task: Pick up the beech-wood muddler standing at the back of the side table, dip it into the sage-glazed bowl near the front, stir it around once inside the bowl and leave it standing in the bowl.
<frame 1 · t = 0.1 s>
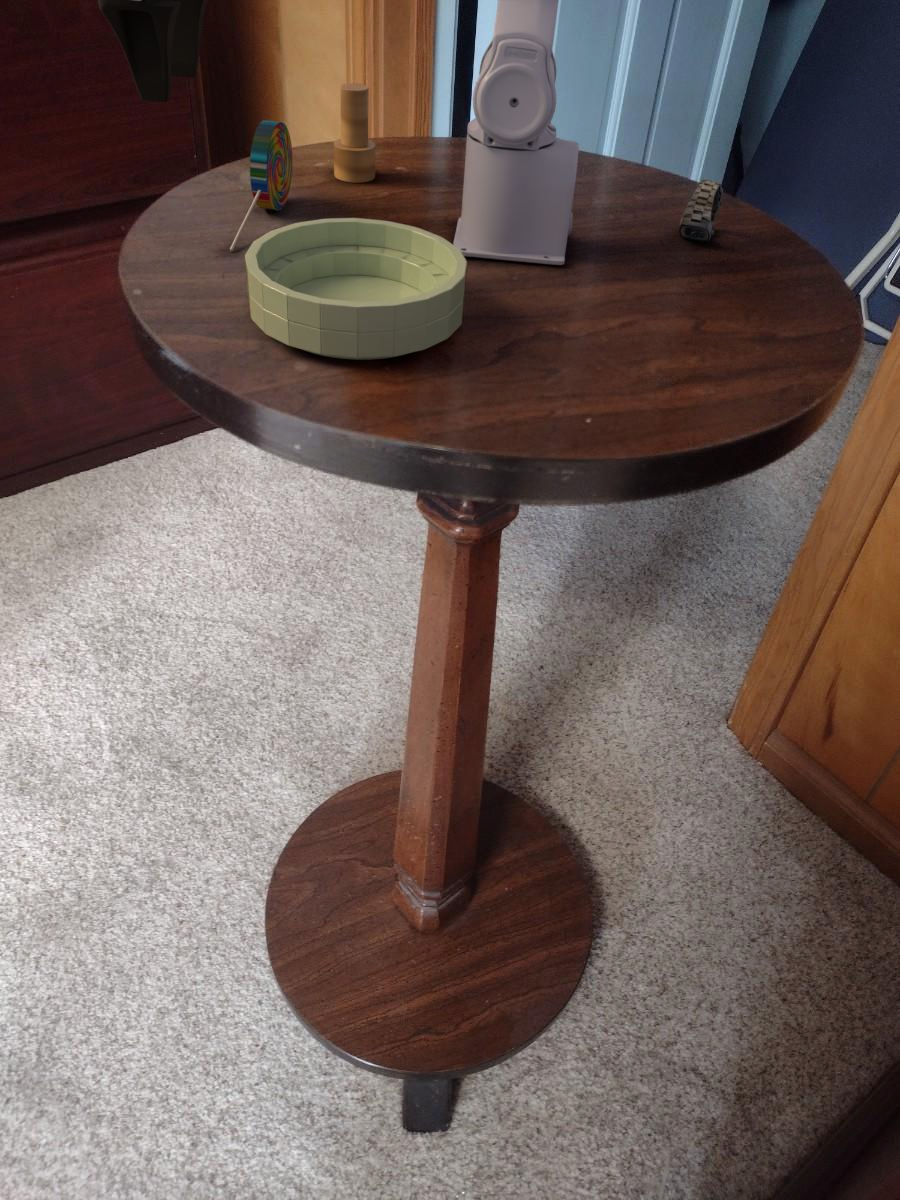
hand: (170, 87, 78), 10 cm above the table, tool pointing down, fingers open, 7 cm apart
bowl: (357, 317, 72), on the table
wristwatch: (698, 240, 89), on the table
muddler: (354, 176, 95), on the table
lollipop: (260, 223, 85), on the table
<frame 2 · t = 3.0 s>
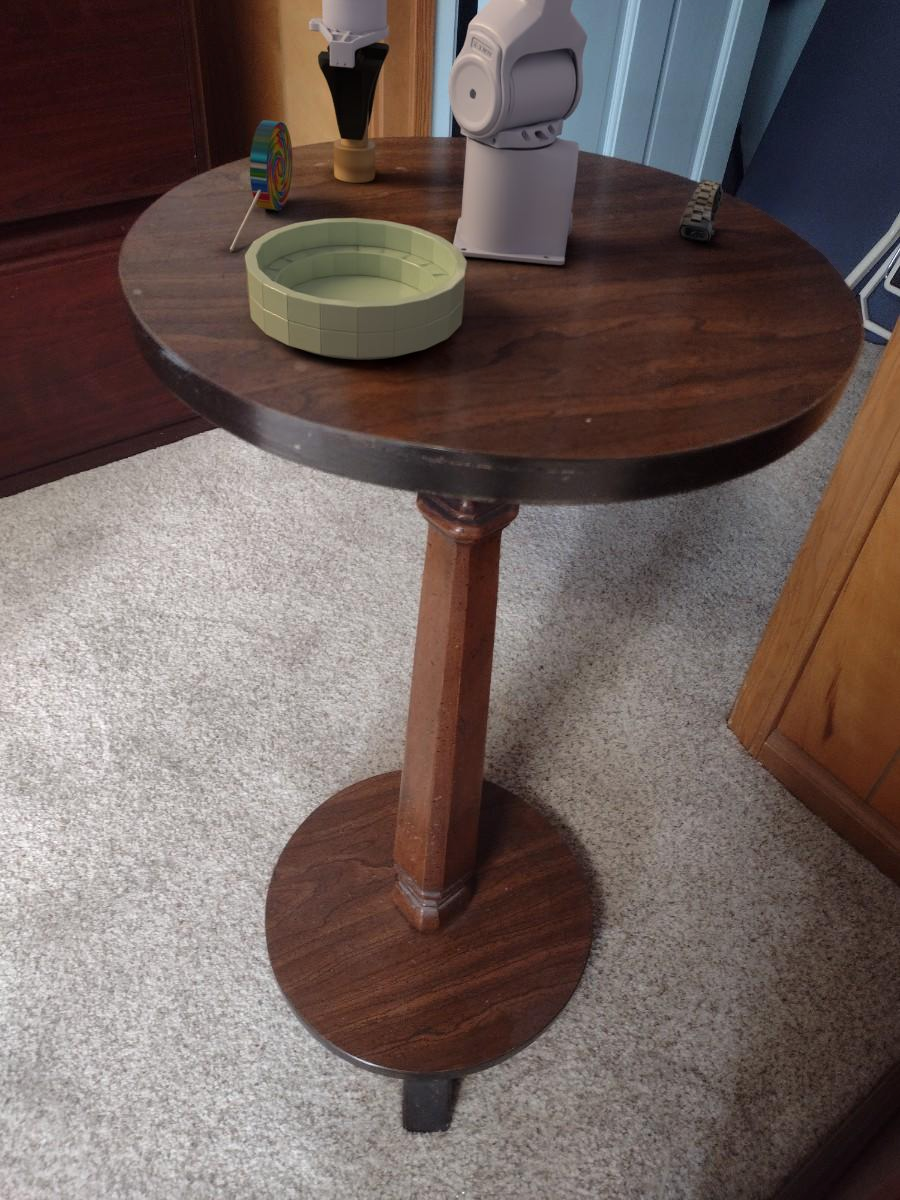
hand: (354, 133, 93), 4 cm above the table, tool pointing down, fingers closed on muddler, 2 cm apart
muddler: (354, 176, 95), on the table, touching gripper
everything else where it was.
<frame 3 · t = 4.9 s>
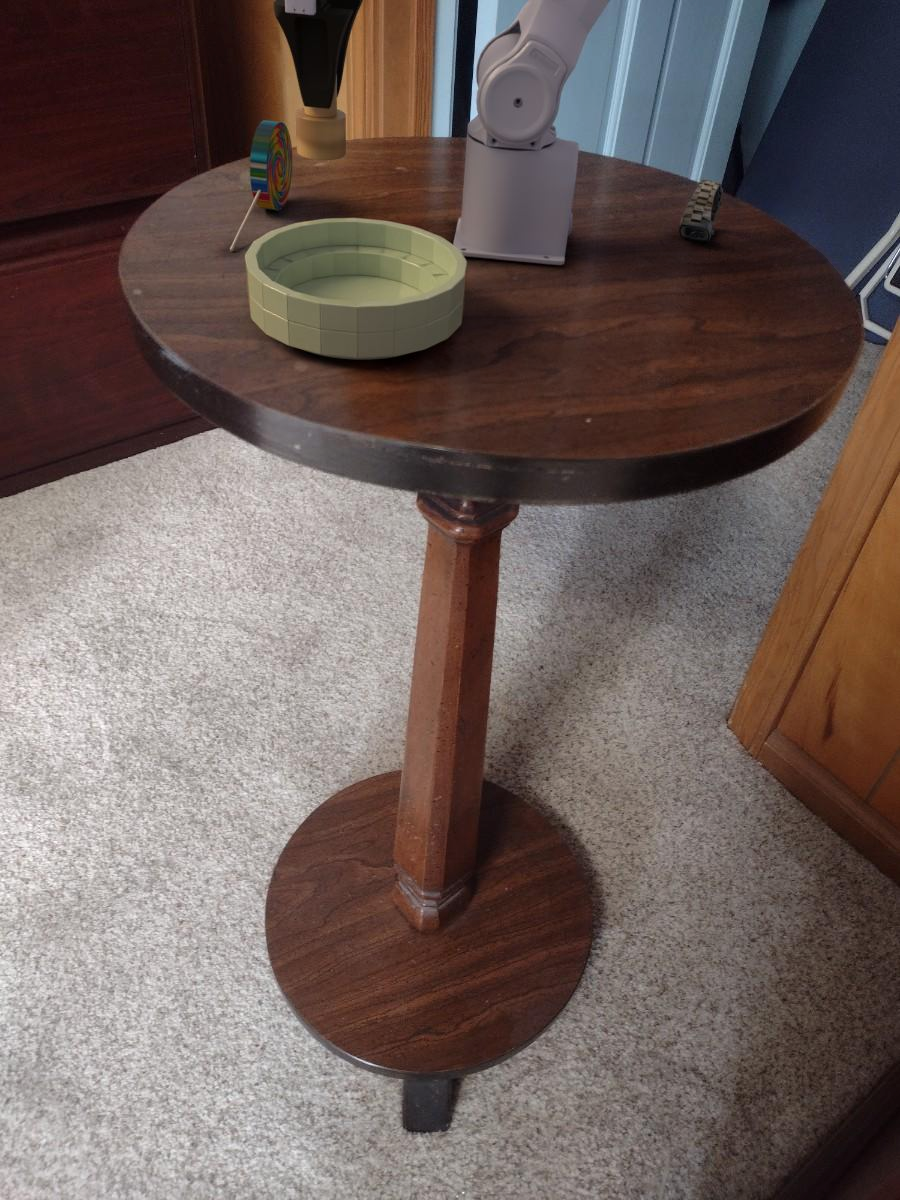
hand: (321, 101, 77), 10 cm above the table, tool pointing down, fingers closed on muddler, 2 cm apart
muddler: (321, 152, 80), point 6 cm above the table, touching gripper
everything else where it was.
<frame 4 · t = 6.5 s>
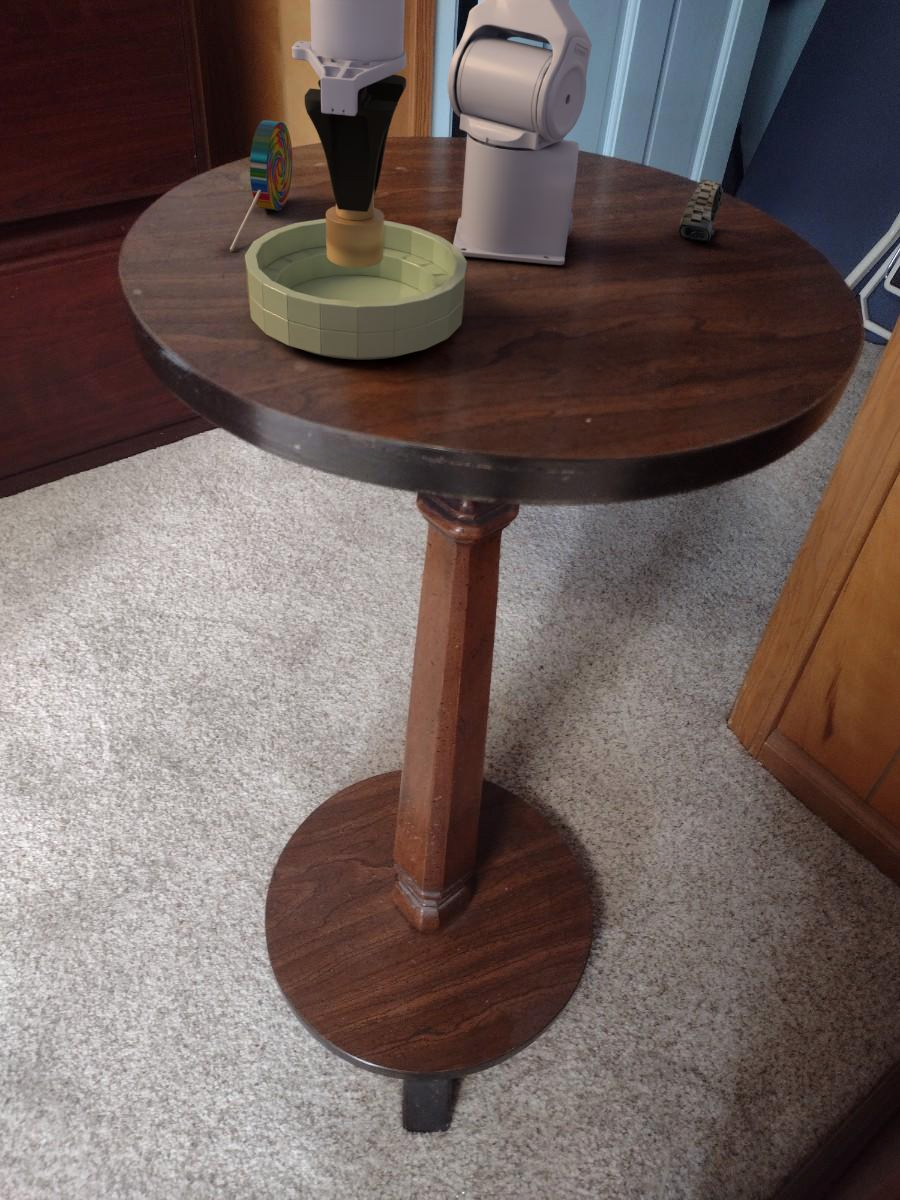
hand: (357, 200, 66), 9 cm above the table, tool pointing down, fingers closed on muddler, 2 cm apart
muddler: (354, 256, 69), point 5 cm above the table, touching gripper
everything else where it was.
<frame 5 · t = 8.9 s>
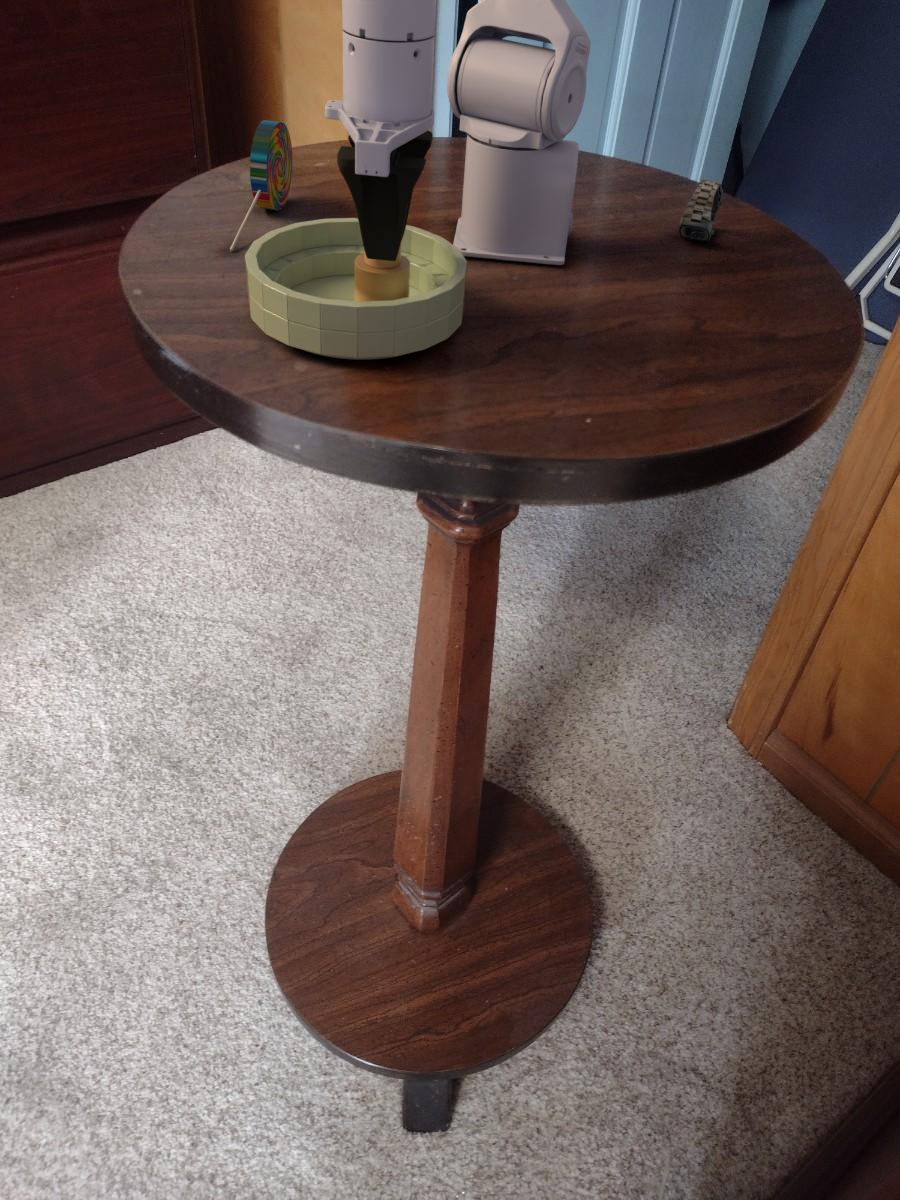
hand: (384, 249, 69), 5 cm above the table, tool pointing down, fingers closed on muddler, 2 cm apart
muddler: (381, 301, 71), point 1 cm above the table, touching gripper
everything else where it was.
when the fingers open (5 cm above the table, at t = 10.4 s): muddler stays where it is, resting on bowl.
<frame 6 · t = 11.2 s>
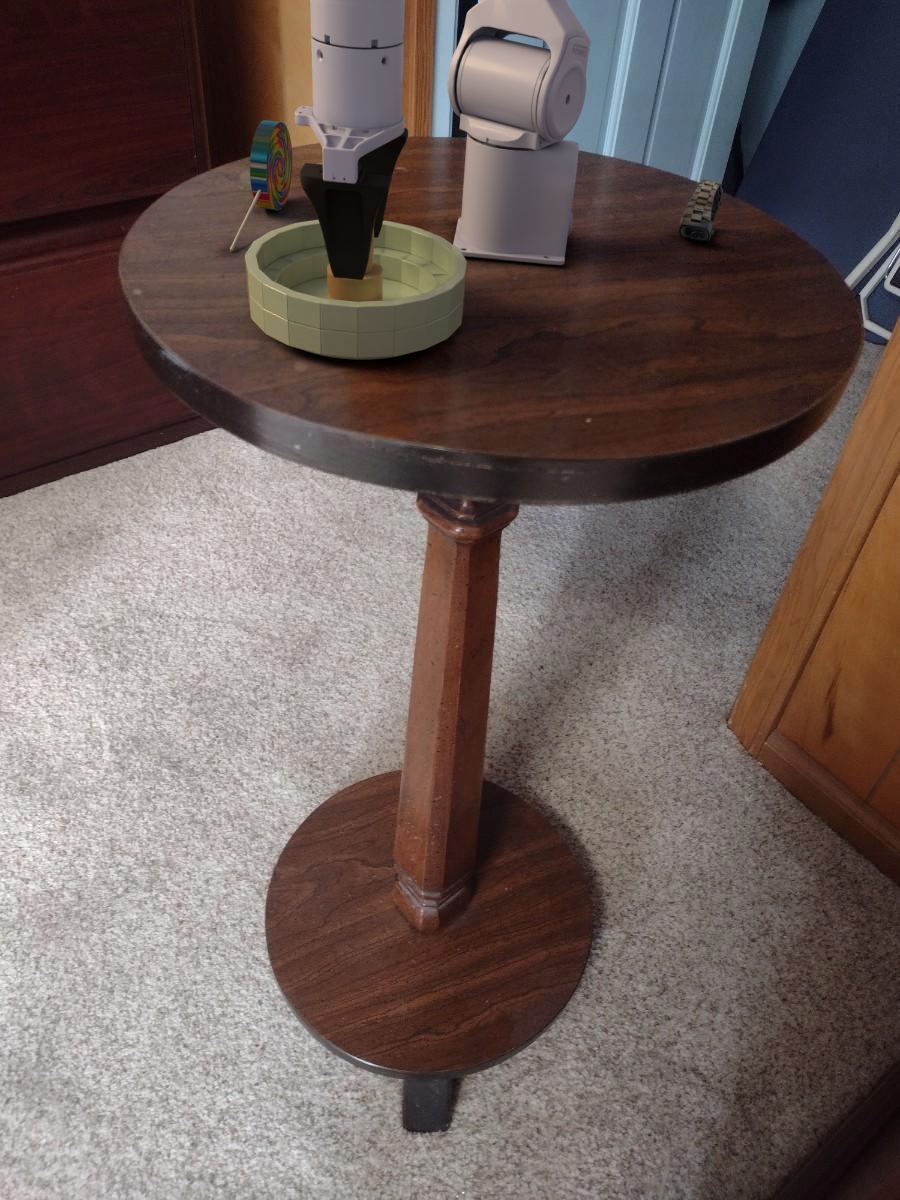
hand: (357, 255, 69), 5 cm above the table, tool pointing down, fingers open, 7 cm apart
muddler: (355, 307, 71), point 1 cm above the table, touching bowl
everything else where it was.
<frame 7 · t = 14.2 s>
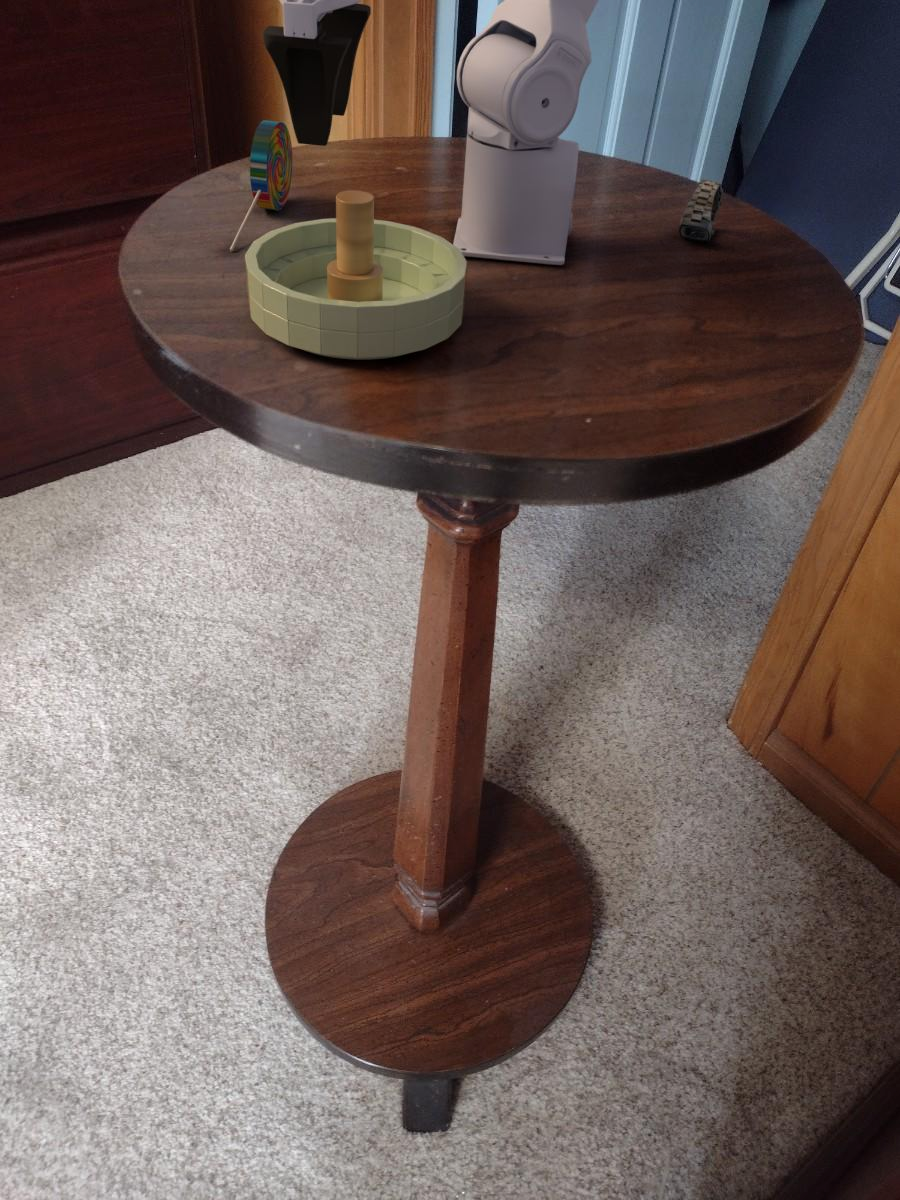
hand: (322, 128, 72), 10 cm above the table, tool pointing down, fingers open, 7 cm apart
nothing on the table moved.
at the end: muddler inside the target area in the bowl (0.1 cm from its centre), point 0.8 cm above the bowl's base; muddler tilted 0°; the gripper is holding nothing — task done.
